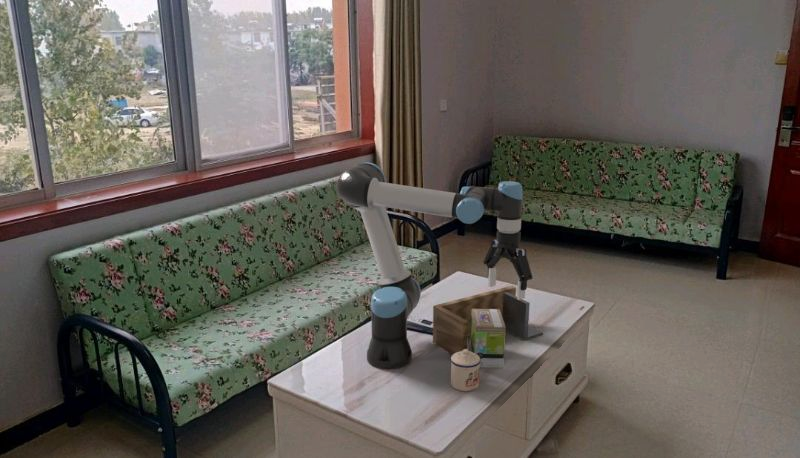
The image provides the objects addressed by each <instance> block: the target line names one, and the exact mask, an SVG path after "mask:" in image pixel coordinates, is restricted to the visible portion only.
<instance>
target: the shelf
mask: <svg viewBox="0 0 800 458" xmlns="http://www.w3.org/2000/svg"><path fill="white" fill-rule="evenodd" d="M505 292H508V293H510V294H512V295H514V296H516V297H517V287H516V286H514V285H509V286H506V287H501V288H497V289H492V290H489V291H487V292H483V293H479V294H474V295H470V296H467V297H462V298H457V299H454V300H451V301H447V302H442V303H440V304H439V303H438V304H436V305H433V309H432V310H433V312H432V343H433V344H434V345H436V346H437V347H439V348H441V350H443V351H444V352H446V353H447V354H450V355H451V356H452V355H453V354H454V353H456V352H460V351H463V350H464V349H467V350H468V341H469V340H468V338H469V337H468V336H470V335H471V313H472V309H500V312H501V315H502V314H503V293H505Z"/></svg>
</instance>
